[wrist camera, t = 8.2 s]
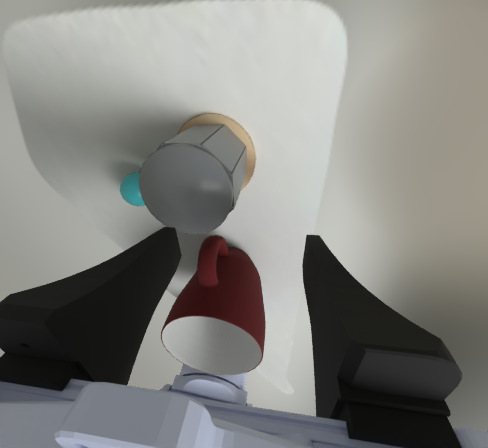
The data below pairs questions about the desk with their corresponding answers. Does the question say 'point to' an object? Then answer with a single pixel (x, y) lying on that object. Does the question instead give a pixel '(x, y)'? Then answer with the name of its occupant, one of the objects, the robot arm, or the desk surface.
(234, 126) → the tan round coaster
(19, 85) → the desk surface
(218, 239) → the mug
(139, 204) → the marble
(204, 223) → the faceted grey cylinder
